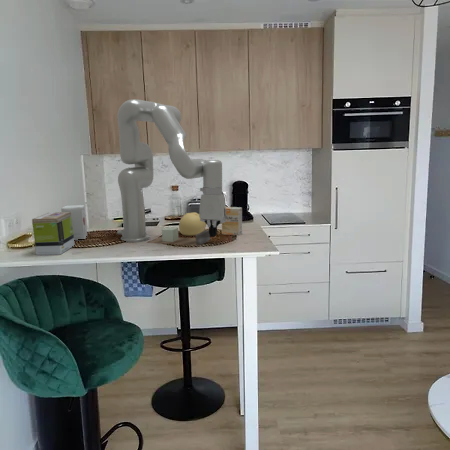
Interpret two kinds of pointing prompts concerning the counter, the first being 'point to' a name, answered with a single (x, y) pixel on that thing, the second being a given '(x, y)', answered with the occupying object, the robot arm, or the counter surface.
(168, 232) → the sage block
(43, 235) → the tea box
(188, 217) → the sculpture
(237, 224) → the supplement box
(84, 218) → the supplement box
